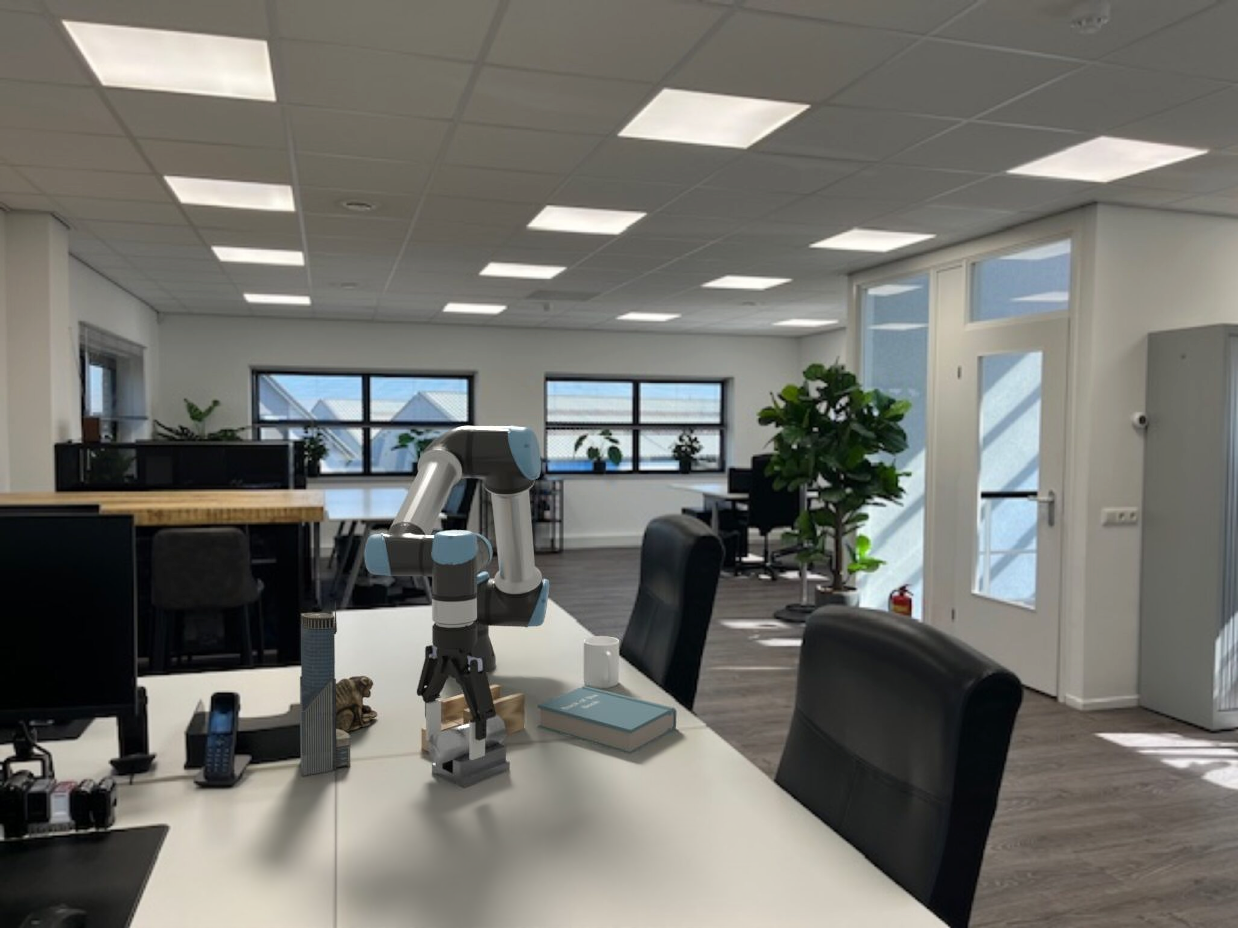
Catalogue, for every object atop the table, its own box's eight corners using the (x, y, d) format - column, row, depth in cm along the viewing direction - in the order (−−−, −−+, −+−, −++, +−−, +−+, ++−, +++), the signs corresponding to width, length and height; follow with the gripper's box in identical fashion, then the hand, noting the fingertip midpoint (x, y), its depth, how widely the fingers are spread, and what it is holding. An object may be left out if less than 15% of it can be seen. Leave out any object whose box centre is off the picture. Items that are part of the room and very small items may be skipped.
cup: (612, 676, 203) (613, 634, 203) (628, 691, 192) (628, 647, 191) (579, 679, 201) (579, 637, 200) (593, 695, 189) (593, 650, 189)
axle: (487, 738, 153) (488, 711, 153) (505, 746, 150) (506, 718, 150) (428, 758, 144) (428, 730, 143) (445, 767, 140) (446, 738, 140)
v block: (463, 787, 141) (463, 764, 141) (431, 772, 147) (431, 749, 147) (509, 769, 148) (509, 747, 148) (477, 755, 154) (477, 734, 154)
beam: (495, 717, 174) (495, 684, 174) (524, 728, 168) (524, 694, 168) (413, 744, 159) (413, 708, 159) (441, 757, 153) (441, 719, 153)
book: (537, 729, 169) (537, 704, 169) (586, 707, 182) (587, 684, 182) (630, 756, 156) (630, 729, 156) (676, 730, 169) (676, 706, 169)
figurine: (388, 723, 171) (387, 674, 170) (321, 742, 160) (321, 690, 160) (372, 715, 175) (371, 668, 174) (306, 734, 164) (305, 683, 164)
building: (360, 760, 152) (359, 595, 150) (327, 780, 143) (325, 605, 142) (313, 752, 155) (311, 591, 153) (278, 771, 146) (276, 600, 145)
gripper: (517, 630, 138) (517, 760, 140) (431, 607, 154) (431, 724, 155) (481, 638, 133) (481, 773, 134) (396, 614, 149) (396, 735, 150)
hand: (454, 747), depth 145 cm, fingers open, 11 cm apart
